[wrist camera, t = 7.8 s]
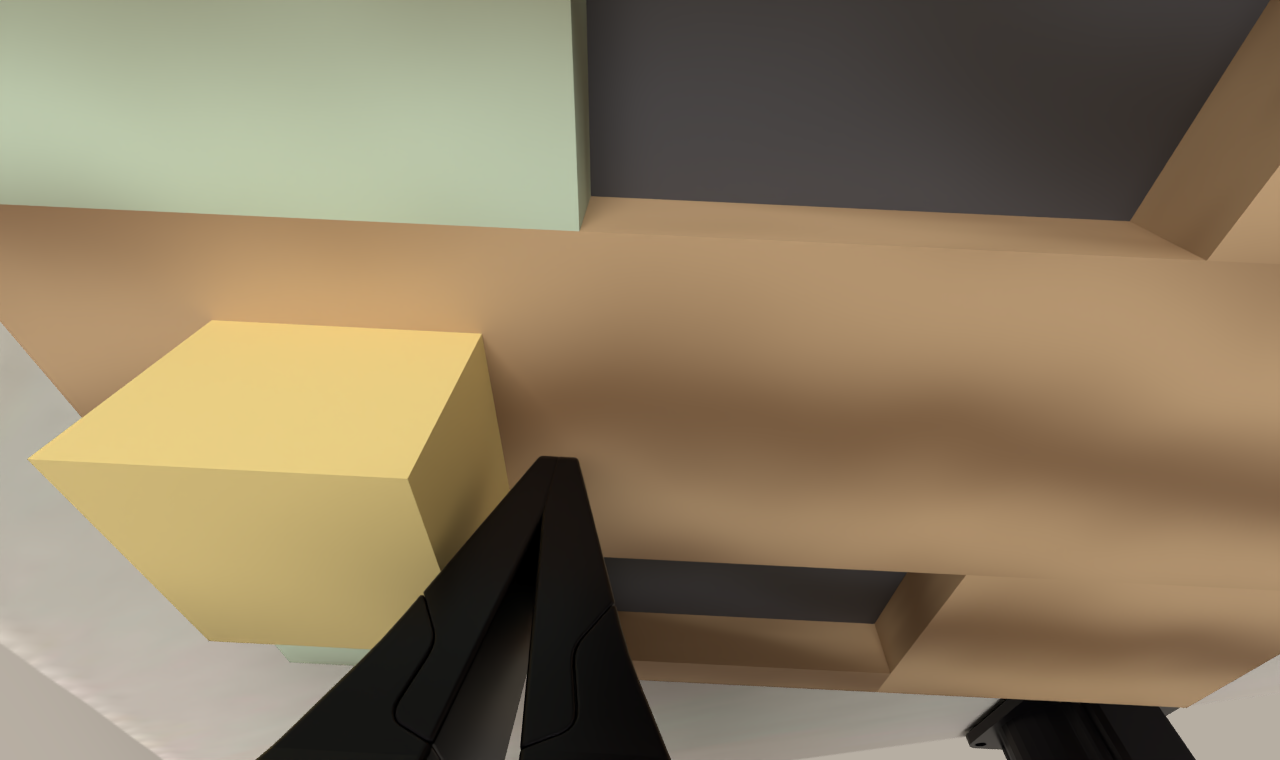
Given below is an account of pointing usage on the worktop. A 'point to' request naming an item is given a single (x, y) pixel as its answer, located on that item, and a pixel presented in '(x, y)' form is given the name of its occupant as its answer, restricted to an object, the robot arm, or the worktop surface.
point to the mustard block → (291, 475)
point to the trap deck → (738, 294)
